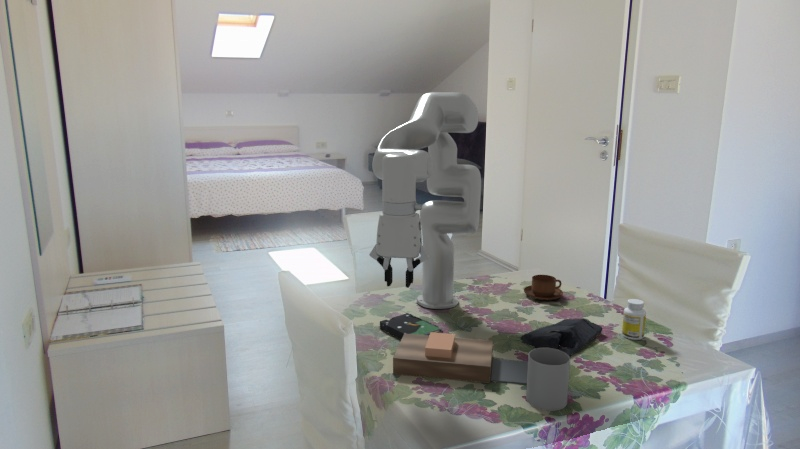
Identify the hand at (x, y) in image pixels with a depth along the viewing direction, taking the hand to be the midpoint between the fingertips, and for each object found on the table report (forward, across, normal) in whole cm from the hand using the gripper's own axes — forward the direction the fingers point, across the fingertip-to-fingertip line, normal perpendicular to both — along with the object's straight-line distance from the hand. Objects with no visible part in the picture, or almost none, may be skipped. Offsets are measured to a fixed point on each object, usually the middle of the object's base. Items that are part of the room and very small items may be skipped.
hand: (398, 284), depth 137 cm
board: (+19, -11, 0) cm, 22 cm away
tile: (+15, -10, 0) cm, 18 cm away
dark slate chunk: (+20, -40, -21) cm, 49 cm away
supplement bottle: (+19, -58, -26) cm, 66 cm away
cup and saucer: (+20, -36, -53) cm, 67 cm away
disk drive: (+20, 0, -17) cm, 26 cm away
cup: (+19, -34, +12) cm, 41 cm away
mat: (+19, -28, 0) cm, 34 cm away
